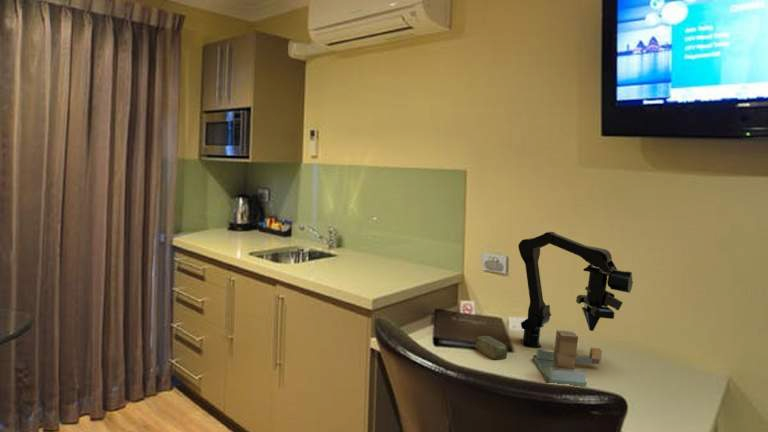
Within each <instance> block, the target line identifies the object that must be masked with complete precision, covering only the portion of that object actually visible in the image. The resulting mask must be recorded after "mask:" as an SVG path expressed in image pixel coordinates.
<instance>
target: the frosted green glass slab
mask: <svg viewBox="0 0 768 432" xmlns="http://www.w3.org/2000/svg"><path fill="white" fill-rule="evenodd" d="M536 355H537V354H533V355H532V361H533V362H534V363H535V365H536V366H537V368H538V369H539V371H540V372H541V374H542V375H543V377H544V378H545V380H546V382H547V383H548V384H549V383H557V384H569V385H574V386H573V387H575V386H586V387H587V381H586V377H587V372H586V371H585V370H584V369H577V368H575V367H574V369H564V368H553V367H552V365H553V360H547V359H538V358H537V357H536Z"/></svg>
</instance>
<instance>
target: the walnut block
mask: <svg viewBox="0 0 768 432" xmlns="http://www.w3.org/2000/svg"><path fill="white" fill-rule="evenodd" d="M578 342H579V336H578V335H577V334H576V333H575V332H574V331H572V330H562V329H556V333H555V340H554V349H553V350H554V357H553V365H552V367H553V368H564V369H574V368H575V367H576V365H575V364H576V362H575V359H576V355H577V349H578Z"/></svg>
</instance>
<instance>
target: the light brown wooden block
mask: <svg viewBox="0 0 768 432" xmlns="http://www.w3.org/2000/svg"><path fill="white" fill-rule="evenodd" d="M602 352H603V350H602V349H601V348H597V347H590V349H589V355H579V354H578V355H577V354H576V359H575V363H581V364H592V365H593V364H594V365H601V361H602V359H601V358H602ZM535 355H536V357H537V358H538V359H547V360H553V357H554V349H544V348H536V354H535Z"/></svg>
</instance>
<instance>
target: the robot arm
mask: <svg viewBox="0 0 768 432" xmlns="http://www.w3.org/2000/svg"><path fill="white" fill-rule="evenodd" d="M547 245H552V246H555V247H557V248H559V249H561V250H565V251H567V252H568V253H571V254H573V255H575V256H578V257H580V258H582V260H584V261H585V262H586V263H588V264H587V266H586V267H585V268H583V269H582V270H583V272H588V273H589V274H588V275H589V276H588V281H587V282H588V283H587V286H585V288H584V290H586V294H578V295H577V296H576V301H575V302H576V303H577V304H579V305H581V303H582V304H584V307H583V306H582V307H581V309H582V312H583V315H584V318H585V320H586V323H587V328H588V330H589V331H590V332H594V330H595V329H596V327H597V325H598V322H599V321H600V319H611V320H613V319H615V311H614V310H613V309H615V310H616V311H619V310H620V309H621V307H622V305H623V301H621V300H620V299H618V298H617V297H615V294H614V293H613V292H610V291H608V290H607V286H608V287H609V288H610V289H611V290H614V291H619V292H623V293H629V294H630V293H631V291H632V288H633V283H634V281H633V276H632V275H633V272H632V271H625V270H621V269H620V270H619V269H618V268H617V267H616V265H615V264H614V261H613V260H612V259H613V258H612V256H613V255H612V254H611V252H610V251H609V250H608V249H605V248H600V247H595V246H590V245H589V246H588V245H585V244H582V243H580V242H578V241H575V240H572V239H570V238H568V237H565V236H563V235H560V234H558V233H556V232H554V231H548V232H547V231H545V232H544V233H542V234H540V235H539V236H535V237H532V238H531V237H530V238H524V239H521V241H520V242H519V243H518V251H519V255H520V257H521V259H522V261H523V263H524V264H525V274H526V280H527V288H528V294H529V297H528V298H529V305H528V309H527V318H526V319H524V320H523V321H521V322H520V326H521V329H523V335H522V336H523V337H522V338H520V339H519V341H520V342H521V344H522V346H523V347H531V348H532V347H533V348H542V345H541V343H540V336H541V329H542V328H543V327H544V326H545V325H546V324H547V323H549V321H550V318H551V316H552V313H551V307H550V304H546V303H545V302H544V297H543V291H542V282H541V281H542V280H541V275H540V268H539V259H540V255H541V248H543V247H546V246H547ZM608 306H609V307H608ZM611 308H613V309H611Z"/></svg>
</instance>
